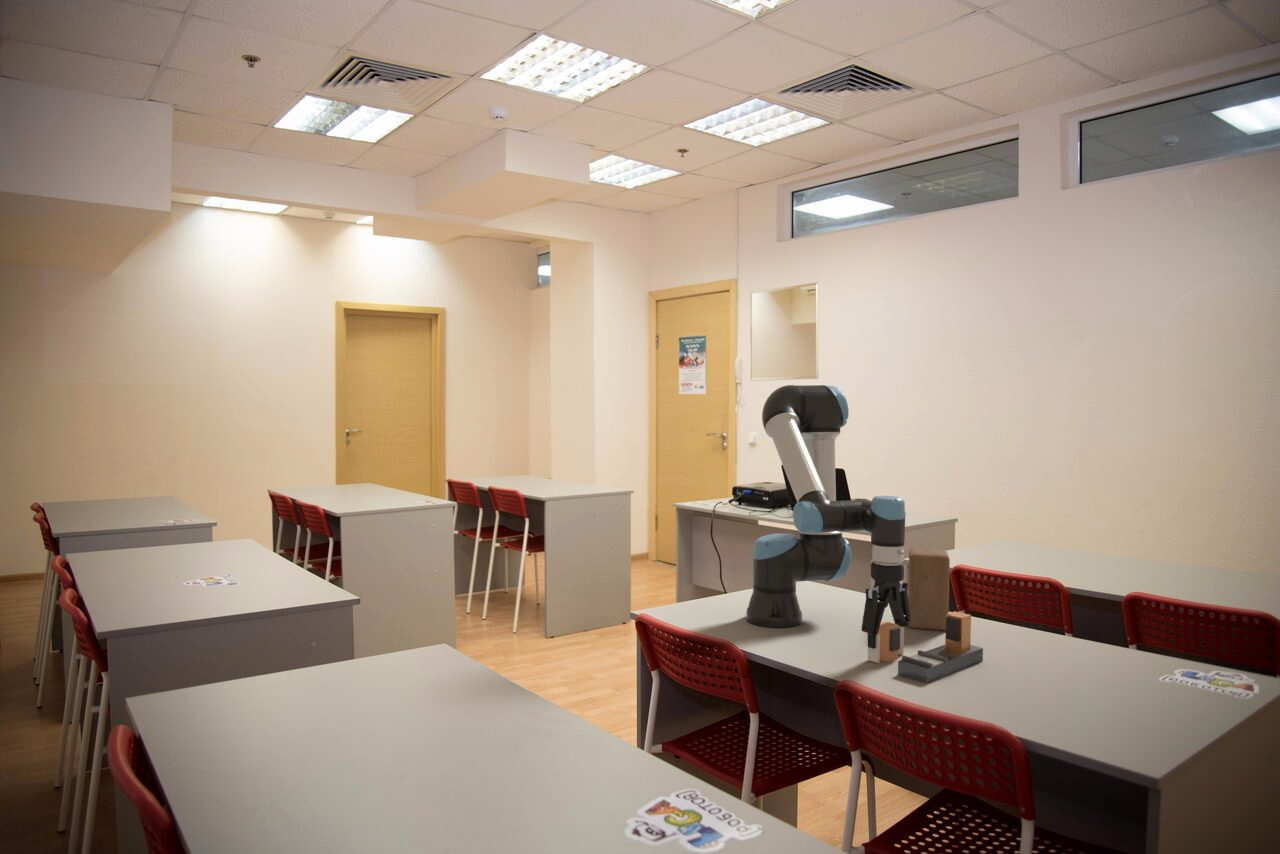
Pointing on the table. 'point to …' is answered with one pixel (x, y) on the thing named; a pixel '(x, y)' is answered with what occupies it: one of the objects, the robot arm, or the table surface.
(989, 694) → the table surface
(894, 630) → the tall peach prism
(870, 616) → the robot arm
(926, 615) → the wooden block
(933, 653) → the rail
